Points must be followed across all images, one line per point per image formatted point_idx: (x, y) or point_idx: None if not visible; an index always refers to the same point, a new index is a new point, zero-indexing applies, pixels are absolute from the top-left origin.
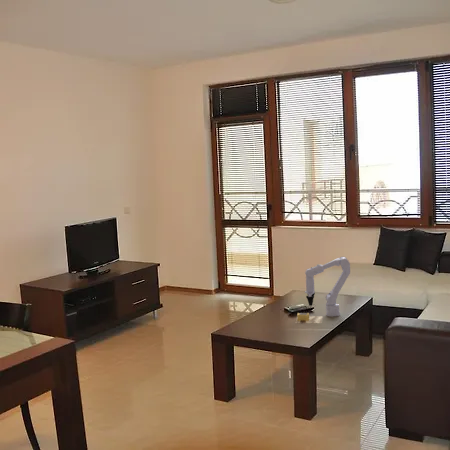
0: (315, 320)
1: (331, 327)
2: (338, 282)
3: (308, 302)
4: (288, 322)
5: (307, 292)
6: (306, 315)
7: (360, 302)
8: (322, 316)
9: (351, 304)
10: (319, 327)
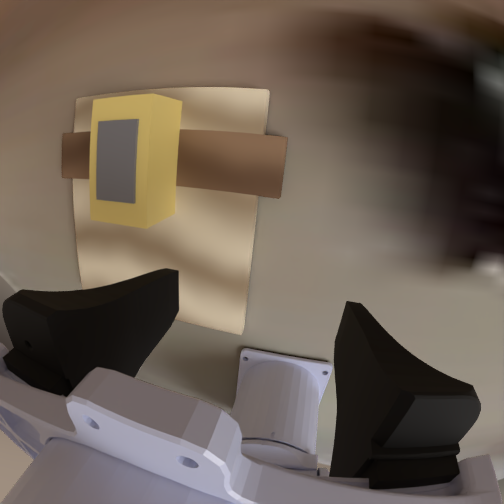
0: (126, 260)
1: None
2: None
3: (125, 281)
4: (139, 34)
5: (37, 429)
6: (92, 195)
7: None
8: (237, 332)
9: None
10: (51, 264)
